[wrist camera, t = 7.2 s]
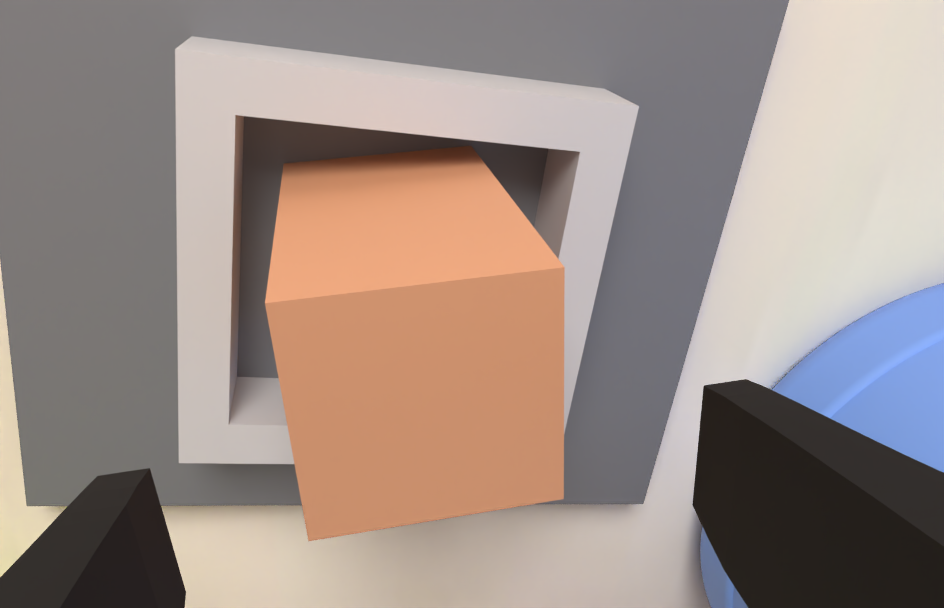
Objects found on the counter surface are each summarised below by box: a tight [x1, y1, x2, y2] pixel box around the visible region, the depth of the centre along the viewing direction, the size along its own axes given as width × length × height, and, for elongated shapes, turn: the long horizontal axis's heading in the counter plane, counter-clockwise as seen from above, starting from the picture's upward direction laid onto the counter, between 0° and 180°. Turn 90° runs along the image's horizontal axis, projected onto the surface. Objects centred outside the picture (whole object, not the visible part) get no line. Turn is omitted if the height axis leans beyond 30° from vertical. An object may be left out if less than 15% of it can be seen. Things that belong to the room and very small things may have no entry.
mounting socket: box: [0, 0, 789, 506], centre depth 17 cm, size 16×14×3 cm
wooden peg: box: [265, 146, 565, 541], centre depth 14 cm, size 4×4×7 cm
